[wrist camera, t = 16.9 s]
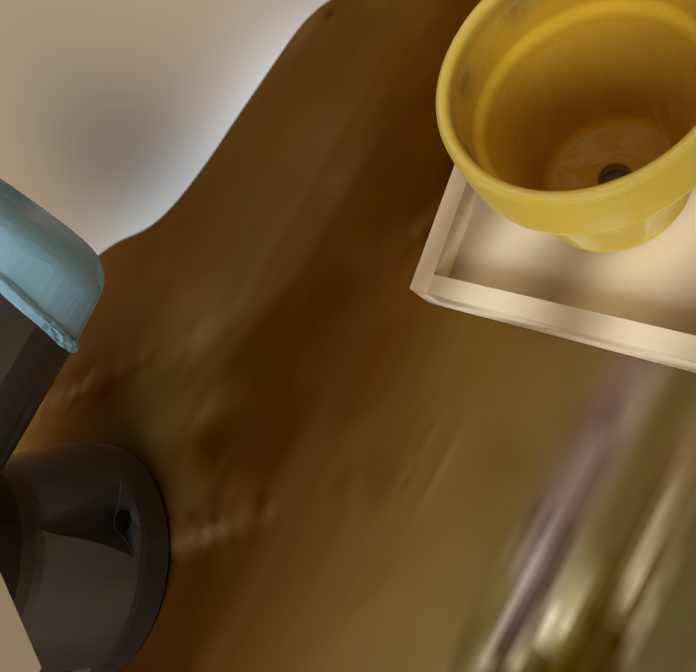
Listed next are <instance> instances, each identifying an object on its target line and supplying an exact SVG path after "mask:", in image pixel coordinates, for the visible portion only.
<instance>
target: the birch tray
mask: <svg viewBox="0 0 696 672" xmlns="http://www.w3.org/2000/svg"><path fill="white" fill-rule="evenodd" d="M626 175H628V173H627V172H625V171H624V170H620V169H615V170H612V171H610V172H608V173H606V174H605V176H604V177H603V179H602V184H604V183H607V182H610V181H613V180H616V179H618V178H621V177H623V176H626ZM410 289H411V290H412V291H413V292H415V293H416V294H418V295H419V296H420V297H422V298H423V299H425V300H426V301H427V302H429V303H432V304H436V305H440V306H444V307H447V308H451V309H455V310H459V311H463V312H466V313H470V314H474V315H478V316H482V317H485V318H489V319H493V320H497V321H501V322H504V323H508V324H512V325H516V326H520V327H523V328H527V329H531V330H535V331H539V332H542V333H546V334H550V335H554V336H558V337H561V338H565V339H569V340H573V341H577V342H580V343H584V344H588V345H592V346H596V347H599V348H603V349H607V350H611V351H614V352H618V353H622V354H626V355H630V356H633V357H637V358H641V359H645V360H649V361H652V362H656V363H660V364H664V365H668V366H671V367H675V368H679V369H683V370H687V371H690V372H694V373H696V187H695V188H693V189H692V191H691V194H690V196H689V198H688V200H687V203H686V205H685V207H684V208H683V210H682V212H681V213H680V214H679V216H678V217H677V218H676V219H675V221H674V222H673V223H672V224H671V225H670V226H669V227H668V228H667V229H666V230H664V231H663V232H662V233H660V234H659V235H657V236H656V237H654V238H653V239H651V240H649V241H647V242H645V243H644V244H641V245H639V246H637V247H634V248H631V249H628V250H623V251H618V252H609V253H601V252H592V251H587V250H583V249H579V248H577V247H574V246H572V245H569V244H567V243H566V242H564V241H562V240H561V239H560V238H558V237H557V236H555V235H552V234H546V233H542V232H538V231H534V230H531V229H528V228H525V227H522V226H520V225H518V224H515V223H513V222H511V221H510V220H508V219H506V218H504V217H503V216H501V215H500V214H499V213H497V212H496V211H494V210H493V209H492V208H491V207H490V206H489V205H488V204H487V203H486V202H485V201H484V200H483V199H482V198H481V197H480V196H479V195H478V194H477V193H476V191H475V190H474V189H473V188H472V187H471V185H470V184H469V183H468V182H467V180H466V179H465V178H464V176H463V175H462V173H461V172H460V170H459V169H458V168H457V166H456V165H454V168H453V171H452V173H451V176H450V179H449V182H448V184H447V187H446V190H445V193H444V195H443V198H442V201H441V204H440V206H439V209H438V212H437V215H436V217H435V220H434V223H433V226H432V228H431V231H430V234H429V237H428V239H427V242H426V245H425V248H424V250H423V253H422V256H421V259H420V261H419V264H418V267H417V270H416V272H415V275H414V278H413V281H412V283H411V286H410Z"/></svg>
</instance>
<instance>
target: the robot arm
mask: <svg viewBox="0 0 696 672" xmlns="http://www.w3.org/2000/svg"><path fill="white" fill-rule="evenodd" d="M104 285H105V274H104V269H103V266H102V263H101V261H100V259H99V257H98V256H97V255H96V253H95V252H94V251H93V249H92V248H91V247H90V246H89V245H88V244H87V243H86V242H85V241H84V240H83V239H82V238H80V237H79V236H78V235H77V234H76V233H74V232H73V231H72V230H71V229H69V228H68V227H67V226H66V225H64V224H63V223H62V222H60V221H59V220H58V219H56V218H55V217H54V216H52V215H51V214H50V213H48V212H47V211H46V210H44V209H43V208H42V207H40V206H39V205H38V204H36V203H35V202H33V201H32V200H30V199H29V198H28V197H26V196H25V195H23V194H22V193H21V192H19V191H18V190H16V189H15V188H14V187H12V186H11V185H9V184H8V183H6V182H5V181H3V180H2V179H0V672H118V671H119V670H121V669H122V668H123V667H124V666H125V665H126V664H127V663H128V662H129V661H130V660H131V659H132V657H133V656H134V655H135V654H136V652H137V651H138V650H139V648H140V647H141V645H142V644H143V642H144V641H145V639H146V637H147V635H148V633H149V631H150V629H151V627H152V625H153V623H154V620H155V618H156V616H157V613H158V610H159V607H160V604H161V600H162V597H163V593H164V588H165V583H166V577H167V570H168V558H169V540H168V527H167V520H166V515H165V510H164V507H163V503H162V500H161V497H160V494H159V491H158V489H157V486H156V484H155V482H154V480H153V479H152V477H151V475H150V474H149V472H148V471H147V469H146V468H145V467H144V465H143V464H142V463H141V462H140V461H139V460H138V459H137V458H136V457H135V456H133V455H132V454H131V453H129V452H128V451H126V450H124V449H122V448H120V447H118V446H114V445H111V444H103V443H95V442H86V441H71V442H64V443H59V444H55V445H51V446H47V447H42V448H38V449H34V450H30V451H26V452H22V453H18V454H13V455H12V453H13V451H14V449H15V448H16V446H17V444H18V443H19V441H20V439H21V437H22V436H23V434H24V432H25V430H26V429H27V427H28V425H29V424H30V422H31V420H32V418H33V417H34V415H35V413H36V411H37V410H38V408H39V406H40V405H41V403H42V401H43V399H44V398H45V396H46V394H47V392H48V391H49V389H50V387H51V385H52V384H53V382H54V380H55V379H56V377H57V375H58V373H59V372H60V370H61V368H62V366H63V365H64V363H65V361H66V360H67V358H68V356H69V354H70V353H77V351H78V349H79V347H80V342H79V338H80V336H81V334H82V332H83V330H84V328H85V326H86V324H87V322H88V320H89V318H90V316H91V314H92V312H93V311H94V309H95V307H96V305H97V303H98V301H99V299H100V297H101V295H102V293H103V289H104Z"/></svg>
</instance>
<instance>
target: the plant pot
mask: <svg viewBox="0 0 696 672" xmlns="http://www.w3.org/2000/svg"><path fill="white" fill-rule="evenodd" d="M436 115H437V122H438V127H439V131H440V135H441V138H442V141H443V143H444V145H445V147H446V149H447V151H448V153H449V155H450V157H451V158H452V160H453V162H454V163H455V165H456V166H457V168H458V169H459V170H460V172H461V173H462V175H463V176H464V178H465V179H466V180H467V182H468V183H469V184H470V185H471V187H472V188H473V189H474V190H475V191H476V193H477V194H478V195H479V196H480V197H481V198H482V199H483V200H484V201H485V202H486V203H487V204H488V205H489V206H490V207H491V208H492V209H493V210H494V211H496V212H497V213H499V214H500V215H501V216H503V217H504V218H506V219H508V220H510V221H511V222H513V223H515V224H518V225H520V226H522V227H525V228H528V229H531V230H534V231H538V232H542V233H546V234H552V235H555V236H557V237H558V238H560V239H561V240H562V241H564V242H566V243H567V244H569V245H572V246H574V247H577V248H579V249H583V250H587V251H592V252H601V253H609V252H618V251H623V250H628V249H631V248H634V247H637V246H639V245H641V244H644V243H645V242H647V241H649V240H651V239H653V238H654V237H656V236H657V235H659V234H660V233H662V232H663V231H664V230H666V229H667V228H668V227H669V226H670V225H671V224H672V223H673V222H674V221H675V219H676V218H677V217H678V216H679V214H680V213H681V212H682V210H683V208H684V207H685V205H686V203H687V200H688V198H689V196H690V194H691V191H692V189H693V188H695V187H696V0H481V1H480V2H479V4H478V5H477V6H476V7H475V8H474V9H473V11H472V12H471V13H470V15H469V16H468V17H467V18H466V20H465V21H464V23H463V24H462V26H461V27H460V29H459V30H458V32H457V34H456V35H455V37H454V39H453V41H452V43H451V45H450V47H449V49H448V51H447V53H446V56H445V58H444V61H443V64H442V67H441V71H440V74H439V79H438V84H437V92H436ZM615 169H620V170H624V171H625V172H627V173H628V175H626V176H623V177H621V178H618V179H616V180H613V181H610V182H607V183H604V184H602V179H603V177H604V176H605V174H606V173H608V172H610V171H612V170H615Z"/></svg>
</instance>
